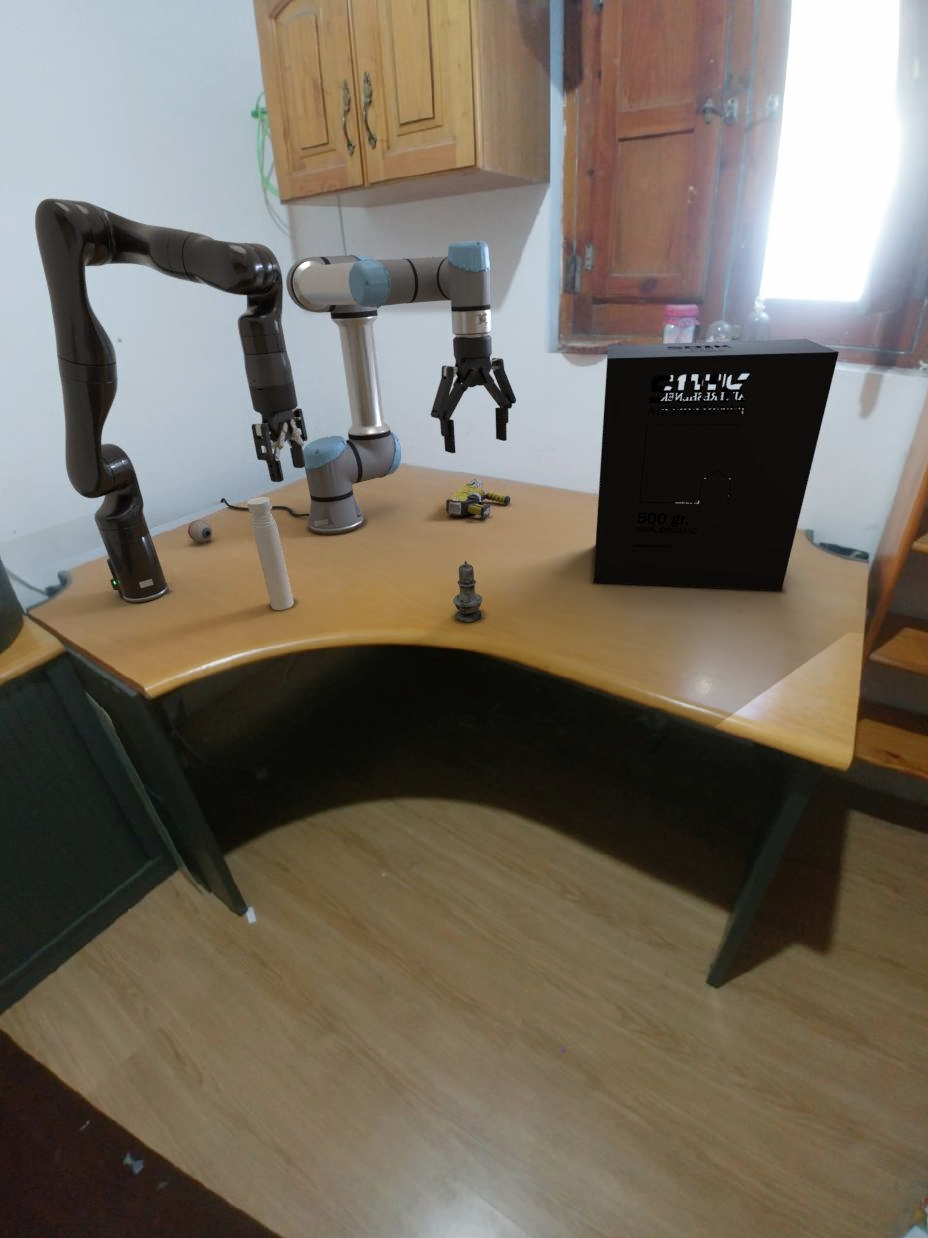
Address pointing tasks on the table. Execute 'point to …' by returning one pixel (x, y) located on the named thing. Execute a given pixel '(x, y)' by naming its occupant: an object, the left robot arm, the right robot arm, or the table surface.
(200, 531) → the eyeball
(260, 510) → the cap
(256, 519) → the bottle
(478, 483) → the toy gun
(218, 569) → the table surface
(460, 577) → the grey tall ringed piece
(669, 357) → the cardboard box
